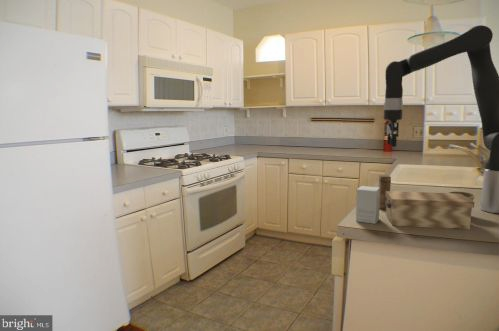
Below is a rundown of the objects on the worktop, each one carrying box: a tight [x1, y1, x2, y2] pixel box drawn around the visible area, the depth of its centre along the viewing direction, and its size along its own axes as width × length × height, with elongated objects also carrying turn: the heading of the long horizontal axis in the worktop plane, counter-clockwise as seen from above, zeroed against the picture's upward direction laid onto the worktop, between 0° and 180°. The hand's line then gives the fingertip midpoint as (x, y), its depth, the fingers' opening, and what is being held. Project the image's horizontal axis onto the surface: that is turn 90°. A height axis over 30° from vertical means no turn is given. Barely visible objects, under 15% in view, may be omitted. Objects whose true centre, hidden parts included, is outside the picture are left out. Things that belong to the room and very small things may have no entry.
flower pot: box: [447, 190, 476, 202], centre depth 144 cm, size 9×9×9 cm
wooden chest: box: [385, 190, 475, 230], centre depth 139 cm, size 28×21×10 cm
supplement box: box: [355, 185, 380, 225], centre depth 138 cm, size 7×7×13 cm
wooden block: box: [378, 174, 392, 210], centre depth 154 cm, size 4×4×14 cm
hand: (391, 145), depth 161 cm, fingers open, 8 cm apart
